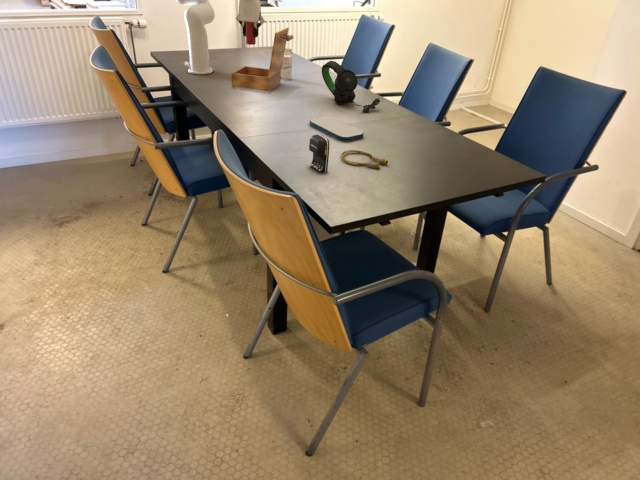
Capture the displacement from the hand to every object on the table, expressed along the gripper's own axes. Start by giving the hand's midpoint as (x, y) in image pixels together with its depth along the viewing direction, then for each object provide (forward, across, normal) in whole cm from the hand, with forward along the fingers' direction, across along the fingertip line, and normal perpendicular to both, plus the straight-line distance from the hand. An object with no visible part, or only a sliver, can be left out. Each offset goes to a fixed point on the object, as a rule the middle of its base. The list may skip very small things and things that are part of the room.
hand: (250, 36), depth 238 cm
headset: (+21, +55, -19) cm, 62 cm away
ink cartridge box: (+21, +14, +9) cm, 26 cm away
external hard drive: (+21, +59, -54) cm, 83 cm away
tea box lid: (+3, +18, -10) cm, 21 cm away
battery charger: (+21, +64, -92) cm, 114 cm away
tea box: (+21, +7, -10) cm, 24 cm away
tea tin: (+3, 0, 0) cm, 3 cm away
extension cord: (+20, +75, -79) cm, 111 cm away
